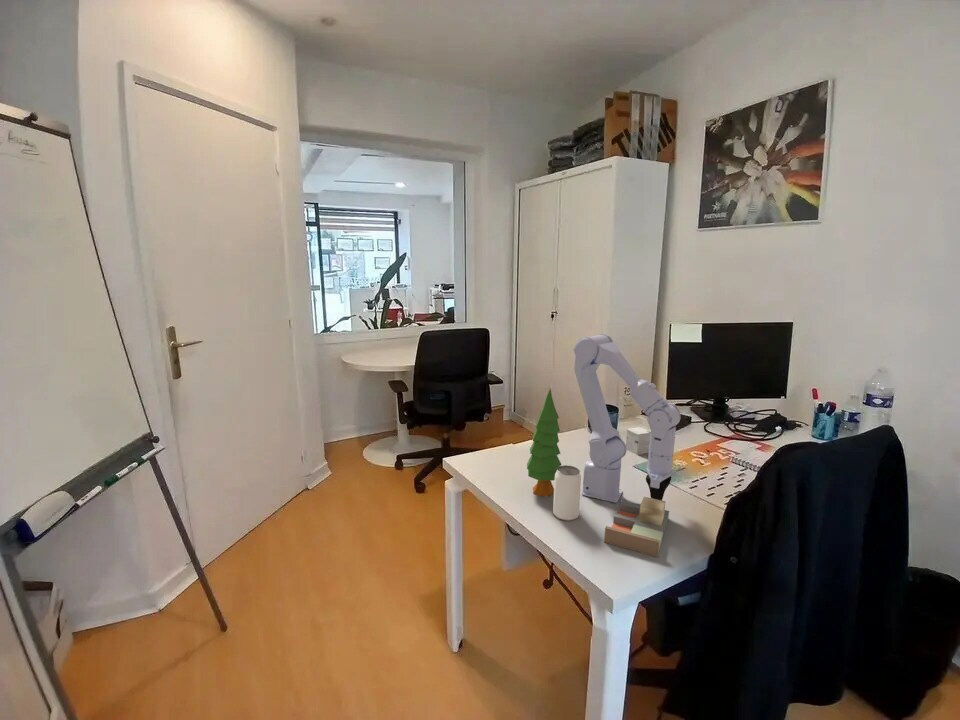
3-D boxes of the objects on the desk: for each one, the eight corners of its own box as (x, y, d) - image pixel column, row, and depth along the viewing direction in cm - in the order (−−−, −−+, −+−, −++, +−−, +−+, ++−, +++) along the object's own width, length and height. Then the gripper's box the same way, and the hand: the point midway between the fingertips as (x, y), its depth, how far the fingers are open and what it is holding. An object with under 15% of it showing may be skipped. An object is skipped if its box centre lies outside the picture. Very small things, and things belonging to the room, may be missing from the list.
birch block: (639, 520, 112) (640, 505, 112) (642, 511, 117) (644, 496, 116) (661, 526, 110) (662, 510, 109) (664, 516, 114) (665, 501, 114)
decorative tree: (550, 502, 125) (555, 393, 119) (518, 493, 129) (521, 387, 124) (563, 488, 133) (569, 385, 127) (533, 480, 138) (537, 380, 132)
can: (575, 508, 122) (578, 464, 120) (581, 521, 116) (584, 475, 113) (550, 508, 122) (552, 464, 119) (555, 521, 115) (557, 475, 113)
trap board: (604, 542, 107) (605, 528, 106) (621, 506, 123) (622, 494, 122) (657, 557, 102) (658, 542, 101) (668, 518, 118) (669, 505, 117)
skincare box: (624, 448, 163) (626, 428, 162) (638, 446, 166) (640, 426, 164) (637, 455, 158) (638, 434, 156) (651, 452, 160) (652, 432, 159)
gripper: (674, 466, 109) (669, 520, 111) (681, 446, 121) (676, 495, 124) (643, 460, 112) (638, 512, 114) (652, 441, 124) (648, 488, 127)
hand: (656, 503), depth 119 cm, fingers closed
